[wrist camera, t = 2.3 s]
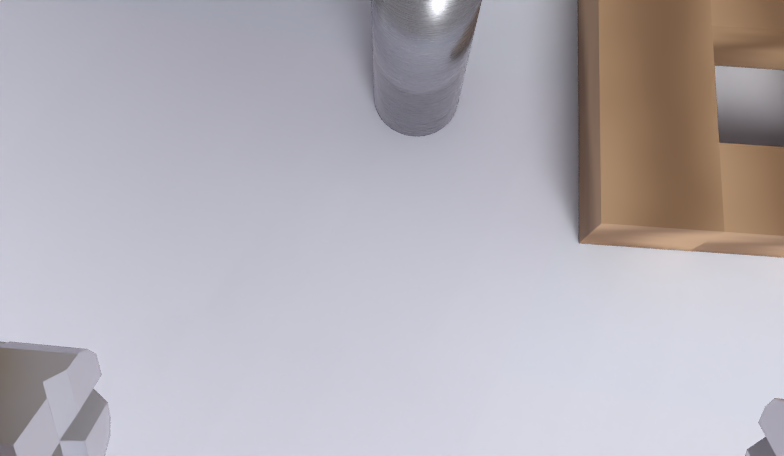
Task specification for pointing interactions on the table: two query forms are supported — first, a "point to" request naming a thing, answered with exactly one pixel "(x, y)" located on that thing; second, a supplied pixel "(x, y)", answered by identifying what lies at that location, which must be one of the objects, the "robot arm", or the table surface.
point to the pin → (420, 60)
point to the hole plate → (674, 127)
